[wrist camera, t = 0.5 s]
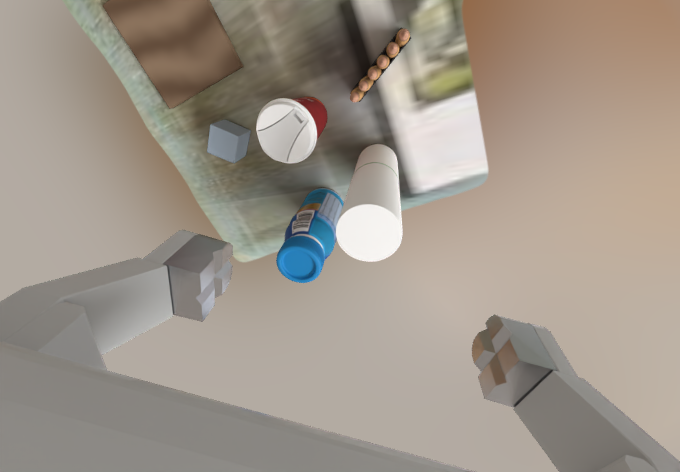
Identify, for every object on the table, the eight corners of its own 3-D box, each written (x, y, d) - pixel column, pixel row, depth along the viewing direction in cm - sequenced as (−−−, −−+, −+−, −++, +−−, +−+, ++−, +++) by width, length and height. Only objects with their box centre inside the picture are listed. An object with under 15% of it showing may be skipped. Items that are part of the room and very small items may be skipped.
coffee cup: (309, 77, 47) (279, 83, 34) (344, 117, 49) (327, 137, 36) (277, 114, 50) (239, 133, 38) (310, 150, 53) (285, 179, 40)
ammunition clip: (361, 99, 47) (353, 110, 37) (352, 91, 47) (342, 100, 37) (410, 38, 42) (417, 31, 32) (401, 28, 42) (405, 18, 32)
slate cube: (224, 119, 52) (210, 124, 48) (251, 130, 53) (238, 136, 48) (221, 145, 55) (207, 152, 51) (246, 155, 55) (234, 163, 51)
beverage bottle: (352, 198, 56) (337, 258, 40) (334, 231, 61) (313, 296, 44) (313, 178, 55) (280, 230, 39) (298, 213, 60) (262, 273, 43)
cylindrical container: (360, 185, 55) (342, 263, 34) (354, 147, 51) (329, 208, 30) (399, 180, 53) (405, 259, 32) (395, 140, 50) (399, 200, 29)
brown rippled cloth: (107, 6, 46) (102, 5, 45) (181, -55, 40) (176, -58, 40) (173, 107, 52) (169, 108, 52) (243, 66, 47) (240, 66, 46)
